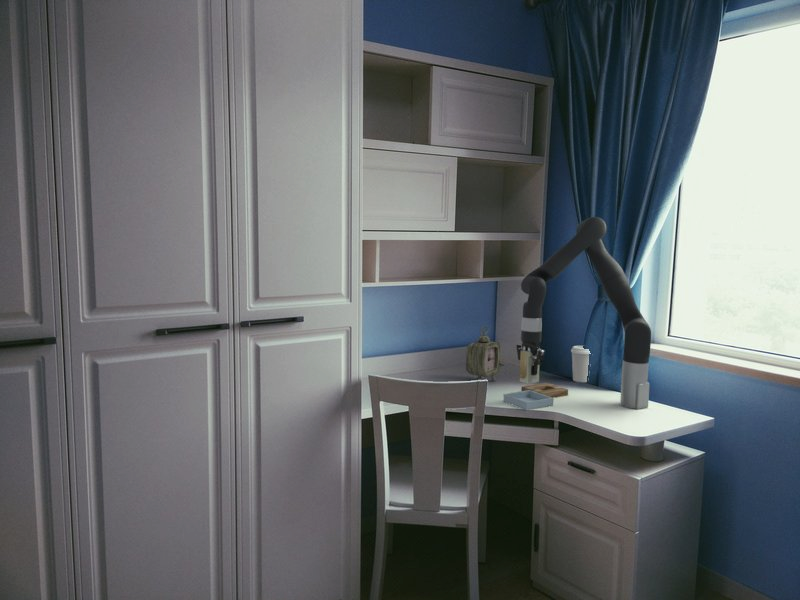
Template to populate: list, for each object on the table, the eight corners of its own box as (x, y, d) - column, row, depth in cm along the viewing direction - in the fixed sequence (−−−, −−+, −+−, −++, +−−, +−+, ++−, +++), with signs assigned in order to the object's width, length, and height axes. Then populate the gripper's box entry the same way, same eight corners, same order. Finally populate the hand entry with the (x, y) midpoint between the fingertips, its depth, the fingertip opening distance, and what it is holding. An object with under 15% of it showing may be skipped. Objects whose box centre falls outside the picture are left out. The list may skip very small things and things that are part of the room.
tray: (553, 405, 235) (553, 398, 235) (526, 410, 229) (526, 402, 228) (529, 397, 247) (529, 390, 246) (503, 401, 240) (503, 393, 240)
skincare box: (531, 379, 240) (533, 348, 239) (539, 382, 237) (540, 350, 235) (518, 381, 237) (520, 350, 236) (526, 384, 234) (527, 352, 232)
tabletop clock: (481, 387, 262) (484, 328, 259) (463, 383, 267) (465, 325, 265) (499, 381, 273) (501, 324, 270) (481, 377, 279) (483, 322, 276)
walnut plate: (567, 395, 251) (568, 389, 251) (541, 399, 244) (542, 393, 244) (546, 388, 261) (547, 382, 261) (521, 392, 254) (521, 386, 254)
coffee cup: (591, 379, 280) (593, 346, 278) (591, 384, 271) (593, 350, 269) (569, 377, 283) (571, 344, 281) (568, 381, 274) (570, 348, 272)
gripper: (552, 331, 230) (550, 376, 232) (526, 325, 243) (524, 368, 245) (537, 332, 227) (534, 378, 229) (511, 327, 239) (509, 370, 241)
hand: (529, 373), depth 237 cm, fingers closed on skincare box, 4 cm apart
